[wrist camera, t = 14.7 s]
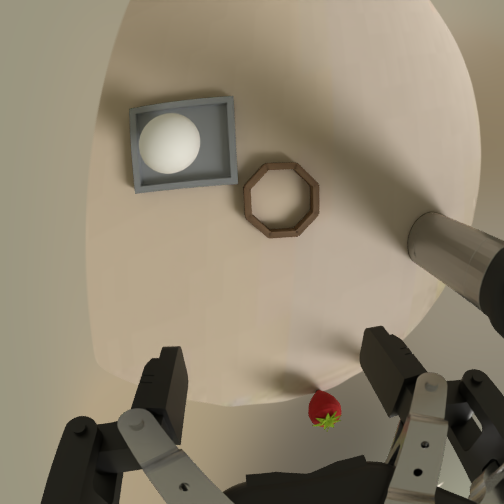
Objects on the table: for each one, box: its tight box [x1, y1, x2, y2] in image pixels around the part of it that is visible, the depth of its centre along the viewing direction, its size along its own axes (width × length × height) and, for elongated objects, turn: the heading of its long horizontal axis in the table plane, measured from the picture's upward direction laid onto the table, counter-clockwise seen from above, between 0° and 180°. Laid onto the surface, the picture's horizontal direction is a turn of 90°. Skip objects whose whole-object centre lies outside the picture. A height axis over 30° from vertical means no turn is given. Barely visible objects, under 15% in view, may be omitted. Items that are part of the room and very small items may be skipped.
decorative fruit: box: [308, 390, 341, 430], centre depth 45 cm, size 6×8×10 cm
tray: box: [129, 96, 238, 194], centre depth 34 cm, size 13×11×2 cm
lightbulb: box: [139, 113, 200, 174], centre depth 29 cm, size 6×6×11 cm
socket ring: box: [243, 162, 319, 238], centre depth 37 cm, size 10×10×2 cm
